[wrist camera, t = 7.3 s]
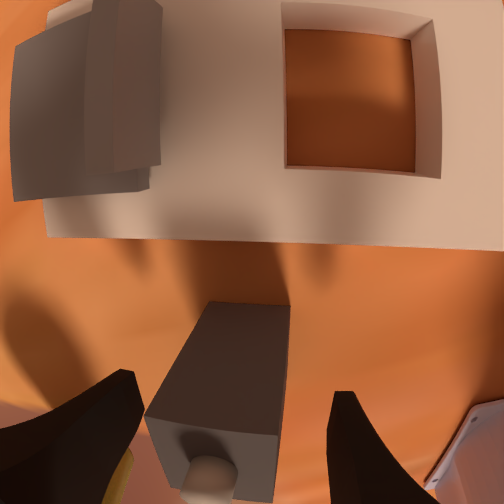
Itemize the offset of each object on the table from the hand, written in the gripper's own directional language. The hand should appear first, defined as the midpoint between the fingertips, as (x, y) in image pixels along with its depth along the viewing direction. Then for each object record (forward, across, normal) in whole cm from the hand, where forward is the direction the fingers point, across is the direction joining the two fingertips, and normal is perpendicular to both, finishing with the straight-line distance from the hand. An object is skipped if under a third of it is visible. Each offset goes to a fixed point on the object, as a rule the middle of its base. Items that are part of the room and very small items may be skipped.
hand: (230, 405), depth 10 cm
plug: (+4, 0, 0) cm, 4 cm away
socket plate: (+4, -1, -10) cm, 11 cm away
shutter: (+1, +5, -10) cm, 12 cm away
